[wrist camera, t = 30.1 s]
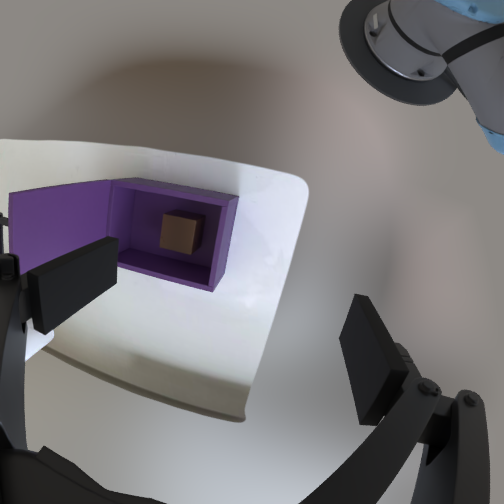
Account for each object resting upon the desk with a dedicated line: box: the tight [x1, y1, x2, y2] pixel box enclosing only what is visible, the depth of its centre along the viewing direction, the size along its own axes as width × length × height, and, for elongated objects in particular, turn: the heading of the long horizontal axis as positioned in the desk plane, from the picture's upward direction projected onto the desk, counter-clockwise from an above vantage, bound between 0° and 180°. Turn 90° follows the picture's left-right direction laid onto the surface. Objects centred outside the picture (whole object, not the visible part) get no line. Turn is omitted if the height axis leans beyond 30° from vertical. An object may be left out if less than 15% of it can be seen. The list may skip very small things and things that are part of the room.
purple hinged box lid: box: [0, 179, 111, 275], centre depth 31 cm, size 19×13×8 cm
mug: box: [25, 318, 54, 361], centre depth 52 cm, size 8×12×12 cm
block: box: [159, 209, 206, 255], centre depth 44 cm, size 5×5×5 cm
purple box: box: [106, 178, 239, 292], centre depth 43 cm, size 18×13×8 cm
